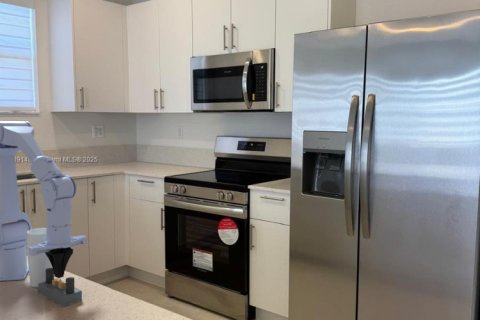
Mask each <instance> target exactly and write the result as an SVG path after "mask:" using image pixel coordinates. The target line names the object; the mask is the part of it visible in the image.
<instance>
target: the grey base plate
mask: <svg viewBox="0 0 480 320" xmlns="http://www.w3.org/2000/svg"><path fill="white" fill-rule="evenodd" d="M55 279H57V277H55ZM61 282H63V280H61ZM37 289H38V290H37V293H38V294H39V295H41V296H43V297H45V298H47V299H49V300H50V301H53V302H54V303H56V304H57V305H59V306H61V307H66V306H70V305H73V304H75V303H77V302H80V301H82V300H83V298H82V296H83V291H82V289H80V288H77V287H75V286H74V293H72V294H66V287H65V288H62V289H60V288H58V285H55V286H54V285H52V283H50V284H47V283H46V282H42V283H39V284H38V288H37Z"/></svg>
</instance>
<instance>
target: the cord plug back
mask: <svg viewBox="0 0 480 320" xmlns="http://www.w3.org/2000/svg"><path fill="white" fill-rule="evenodd" d="M53 279H55V276H54V272H53V268H47V269H46V283H47V284H50V283H52V280H53Z"/></svg>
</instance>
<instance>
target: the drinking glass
mask: <svg viewBox="0 0 480 320" xmlns="http://www.w3.org/2000/svg"><path fill="white" fill-rule="evenodd" d="M45 241H47V227H37V228H35V227H34V228H32V229H31V230H28V231H27V237H26V244H25V245H26V248H27V267H29V271H28V275H29V286H30V287H31V288H37V289H38V284H39V283H42V282H46V269H47V268H52V265H51V263H50V261H49V259H48V257H47V255H46V254H45V253H40V254H37V255H36V256H31V255H29V252H28V247H30V246H34V245H37V244H40V243H42V242H45Z"/></svg>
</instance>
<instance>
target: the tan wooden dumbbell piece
mask: <svg viewBox="0 0 480 320" xmlns="http://www.w3.org/2000/svg"><path fill="white" fill-rule="evenodd" d="M56 278H57V277H56ZM56 278H54V279H53V280H52V285H54V286H55V285H58V288H60V289H62V288H65V287H66V280H64V281H63V280H62V279H61V278H57V279H56ZM61 281H63V282H61Z"/></svg>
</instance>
